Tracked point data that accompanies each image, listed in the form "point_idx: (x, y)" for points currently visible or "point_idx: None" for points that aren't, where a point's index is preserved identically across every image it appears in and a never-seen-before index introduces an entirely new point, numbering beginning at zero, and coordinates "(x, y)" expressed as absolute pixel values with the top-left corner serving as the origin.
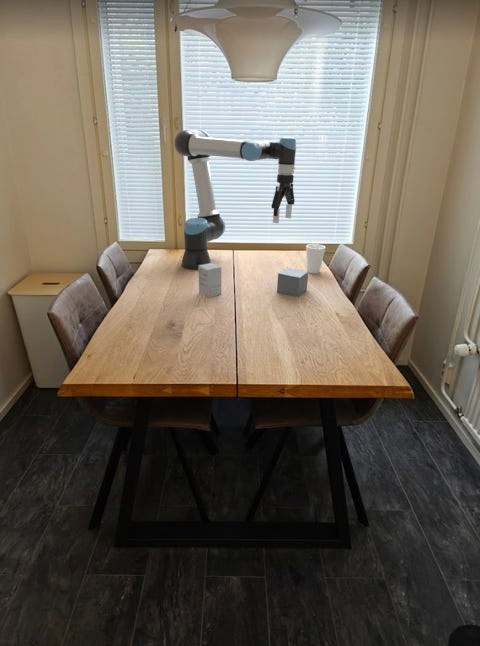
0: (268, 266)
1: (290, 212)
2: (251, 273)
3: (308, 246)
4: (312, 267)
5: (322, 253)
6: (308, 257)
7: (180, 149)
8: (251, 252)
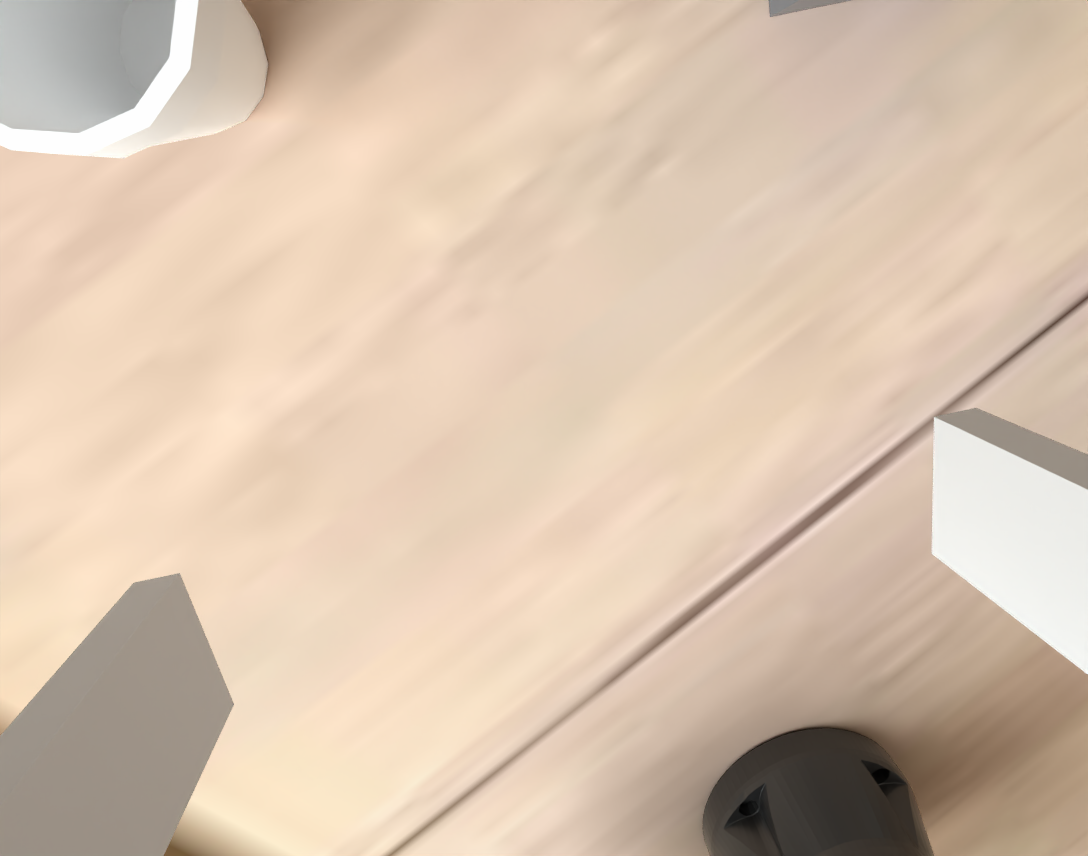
0: (439, 477)
1: (94, 704)
2: (696, 452)
3: (81, 131)
4: (247, 11)
5: None
6: (232, 60)
7: None
8: (246, 802)
